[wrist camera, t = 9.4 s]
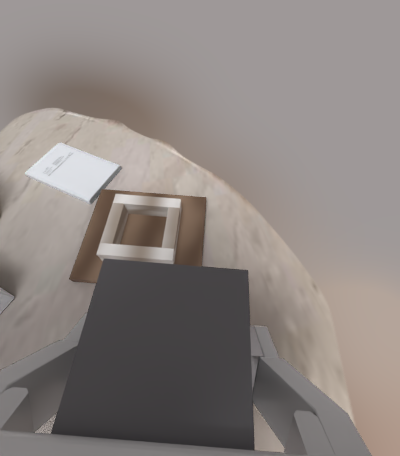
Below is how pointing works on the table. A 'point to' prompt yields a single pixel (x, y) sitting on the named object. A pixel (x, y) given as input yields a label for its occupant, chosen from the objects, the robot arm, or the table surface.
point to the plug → (163, 358)
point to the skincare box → (4, 299)
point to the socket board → (141, 231)
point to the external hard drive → (74, 172)
